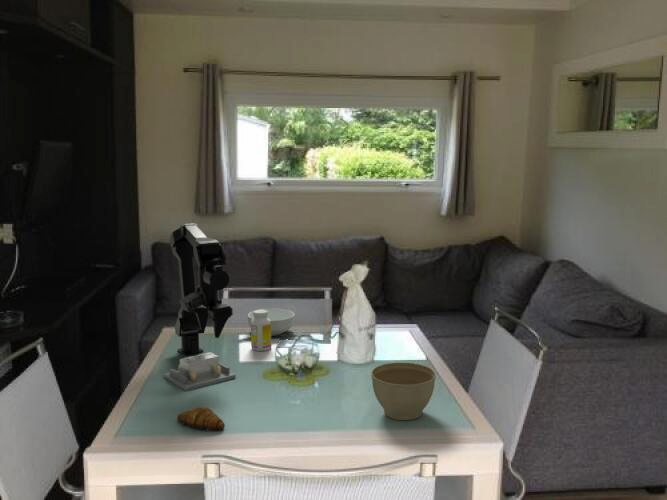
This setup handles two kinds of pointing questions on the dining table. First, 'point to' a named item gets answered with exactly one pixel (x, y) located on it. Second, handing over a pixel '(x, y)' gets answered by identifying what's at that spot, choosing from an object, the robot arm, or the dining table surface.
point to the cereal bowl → (277, 320)
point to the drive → (199, 365)
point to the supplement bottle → (260, 331)
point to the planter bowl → (403, 388)
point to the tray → (181, 380)
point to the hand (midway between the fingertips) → (209, 333)
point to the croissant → (201, 419)
